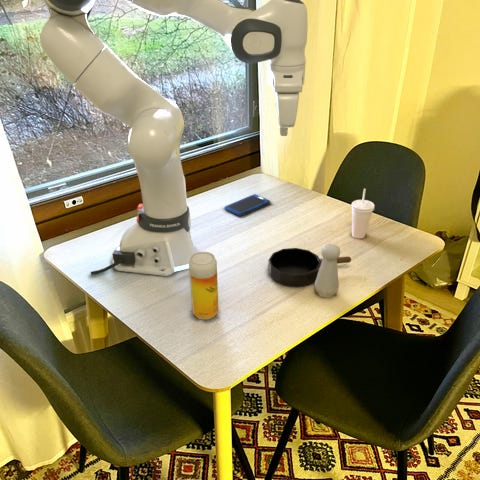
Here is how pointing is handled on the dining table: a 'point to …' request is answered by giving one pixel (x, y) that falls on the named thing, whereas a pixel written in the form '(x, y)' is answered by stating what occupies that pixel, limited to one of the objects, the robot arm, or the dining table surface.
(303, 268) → the pan
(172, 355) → the dining table surface
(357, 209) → the smoothie
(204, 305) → the glass of yellow beer
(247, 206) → the cell phone
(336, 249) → the salt shaker
